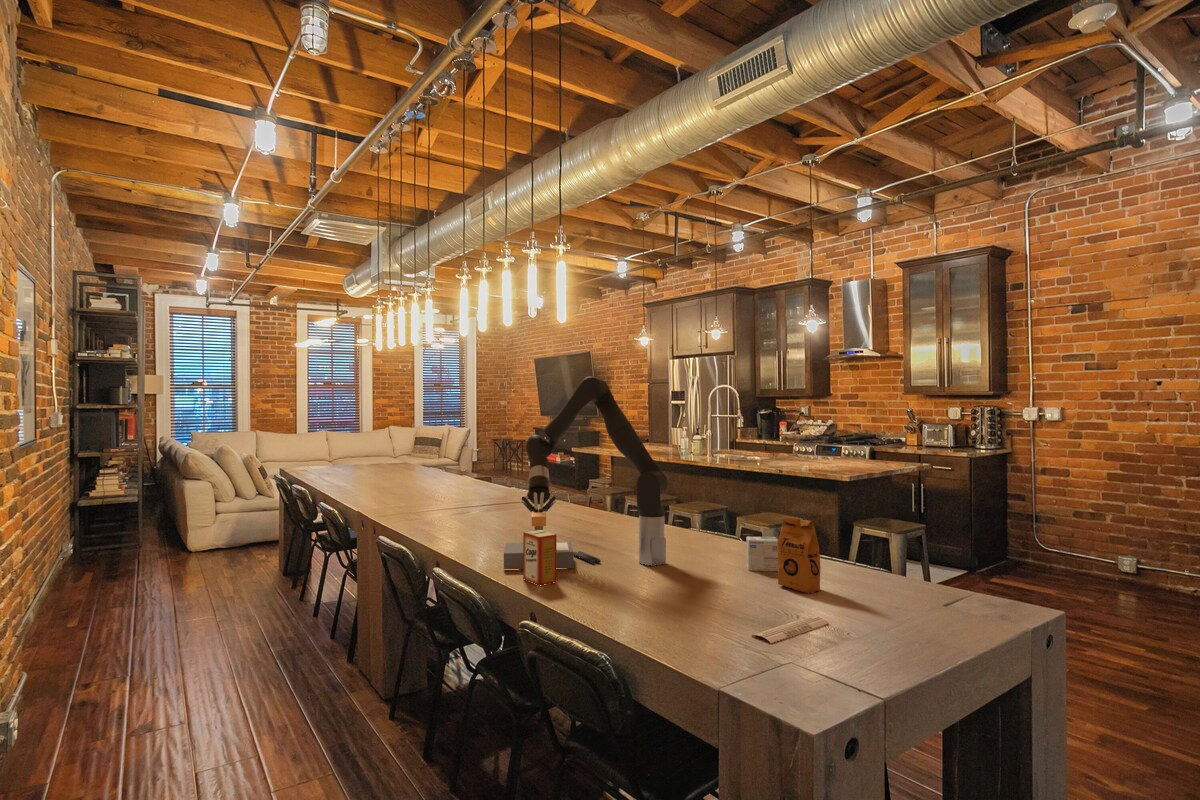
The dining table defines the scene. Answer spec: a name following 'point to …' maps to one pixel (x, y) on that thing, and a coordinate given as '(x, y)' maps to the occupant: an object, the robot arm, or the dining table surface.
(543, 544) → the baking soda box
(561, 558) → the breaker block
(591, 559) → the dark grey ridged bar
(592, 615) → the dining table surface
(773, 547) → the light bulb box
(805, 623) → the newspaper
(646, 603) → the dining table surface
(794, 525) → the coffee package
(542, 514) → the breaker lever
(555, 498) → the robot arm
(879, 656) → the dining table surface
